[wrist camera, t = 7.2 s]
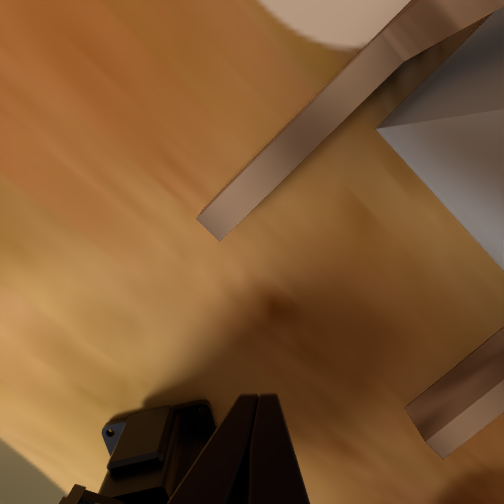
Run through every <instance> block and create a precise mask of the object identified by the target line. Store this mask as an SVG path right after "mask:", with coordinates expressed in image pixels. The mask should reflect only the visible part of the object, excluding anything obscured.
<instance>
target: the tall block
mask: <svg viewBox="0 0 504 504" xmlns="http://www.w3.org/2000/svg"><path fill="white" fill-rule="evenodd" d="M376 130H377V131H378V132H379V133H380V135H381V136H382V137H383V138H384V139H385V140H386V141H387V142H388V143H389V145H390V146H391V147H392V148H393V149H394V150H395V151H396V152H397V153H398V155H399V156H400V157H401V158H402V159H403V160H404V161H405V162H406V163H407V165H408V166H409V167H410V168H411V169H412V170H413V171H414V172H415V173H416V174H417V176H418V177H419V178H420V179H421V180H422V181H423V182H424V183H425V184H426V186H427V187H428V188H429V189H430V190H431V191H432V192H433V193H434V194H435V196H436V197H437V198H438V199H439V200H440V201H441V202H442V203H443V204H444V206H445V207H446V208H447V209H448V210H449V211H450V212H451V213H452V214H453V216H454V217H455V218H456V219H457V220H458V221H459V222H460V223H461V224H462V225H463V227H464V228H465V229H466V230H467V231H468V232H469V233H470V234H471V235H472V237H473V238H474V239H475V240H476V241H477V242H478V243H479V244H480V245H481V247H482V248H483V249H484V250H485V251H486V252H487V253H488V254H489V255H490V257H491V258H492V259H493V260H494V261H495V262H496V263H497V264H498V265H499V267H500V268H501V269H502V270H503V271H504V6H503V7H502V8H500V9H498V10H496V11H495V12H494V13H493V14H492V15H491V16H490V17H489V18H488V19H487V20H486V21H485V22H484V23H483V24H482V25H481V26H480V27H478V28H477V29H476V30H475V31H474V32H473V33H472V34H471V35H470V36H469V37H468V38H467V39H466V40H465V41H464V42H463V43H462V44H461V45H460V46H459V47H458V48H457V49H456V50H455V51H454V52H453V53H452V54H451V55H450V56H449V57H448V58H447V59H446V60H445V61H444V62H443V63H442V64H441V65H440V66H439V67H438V68H437V69H436V70H435V71H434V72H433V73H432V74H431V75H430V76H429V77H428V78H427V79H426V80H425V81H424V82H423V83H422V84H421V85H420V86H419V87H418V88H417V89H416V90H415V91H413V92H412V93H411V94H410V95H409V96H408V97H407V98H406V99H405V100H404V101H403V102H402V103H401V104H400V105H399V106H398V107H397V108H396V109H395V110H394V111H393V112H392V113H391V114H390V115H389V116H388V117H387V118H386V119H385V120H384V121H383V122H382V123H381V124H380V125H379V126H378V127H377V128H376Z"/></svg>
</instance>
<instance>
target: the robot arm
mask: <svg viewBox="0 0 504 504" xmlns="http://www.w3.org/2000/svg"><path fill="white" fill-rule="evenodd" d="M201 407H203V408H205V409H206V410H205V411H201V410H199V408H201ZM109 429H112V430H113V431H114V433H112V432H109ZM102 436H103V439H104V441H105V444H106V446H107V449H108V452H109V454H110V459H109V462H108V464H107V470H108V471H107V474H106V476H105V478H104V481H103V483H102V485H101V488H100V490H99V492H98V494H97V493H94V492H91V491H88V490H86V487H84V486H81V485H77V484H75V485H74V486H73V488H72V490H71V491H70V493H69V495H68V496H67V497H65V496H64V497H63V498H62V500H61V501H60V503H59V504H310V502H309V498H308V495H307V492H306V488H305V485H304V482H303V478H302V475H301V471H300V468H299V465H298V461H297V458H296V455H295V451H294V448H293V445H292V441H291V438H290V435H289V431H288V428H287V425H286V421H285V418H284V415H283V411H282V408H281V405H280V401H279V398H278V395H277V394H276V393H262V394H260V395H258V394H256V393H243V394H241V395H239V397H238V398H237V399H236V401H235V402H234V404H233V405H232V407H231V408H230V410H229V411H228V413H227V414H226V416H225V417H224V419H223V420H222V422H221V423H220V425H219V426H218V425H217V422H216V419H215V416H214V413H213V409H212V406H211V404H210V402H208V401H207V400H198V401H193V402H189V403H185V404H181V405H177V406H170V405H168V406H164V407H160V408H156V409H152V410H147V411H143V412H139V413H135V414H131V415H130V416H129V417H126V418H122V419H118V420H114V421H110V422H107V423H106V424H105V425H104V427H103V429H102Z"/></svg>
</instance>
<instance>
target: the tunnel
mask: <svg viewBox="0 0 504 504" xmlns="http://www.w3.org/2000/svg"><path fill="white" fill-rule="evenodd" d="M503 6H504V0H411V1H410V2H409V3H408V4H407V5H406V6H405V7H404V8H403V9H402V10H401V11H400V12H399V13H398V14H397V15H396V16H395V17H394V18H393V19H392V20H391V21H390V22H389V23H388V24H387V25H386V26H385V27H384V28H383V29H382V30H381V31H380V32H379V33H378V34H377V35H376V36H375V37H374V38H373V39H372V40H371V41H370V42H369V43H368V44H367V45H366V46H365V47H364V48H363V49H362V50H361V51H360V52H359V53H358V54H357V55H356V56H355V57H354V58H353V59H352V60H351V61H350V62H349V63H348V64H347V65H346V66H345V67H344V68H343V69H342V70H341V71H340V72H339V73H338V74H337V75H336V76H335V77H334V78H333V79H332V80H331V81H330V82H329V83H328V84H327V85H326V86H325V87H324V88H323V89H322V90H321V91H320V92H319V93H318V94H317V95H316V96H315V97H314V98H313V99H312V100H311V101H310V102H309V103H308V104H307V105H306V106H305V107H304V108H303V109H302V110H301V111H300V112H299V113H298V114H297V115H296V116H295V117H294V118H293V119H292V120H291V121H290V122H289V123H288V124H287V125H286V126H285V127H284V128H283V129H282V130H281V131H280V132H279V133H278V134H277V136H276V137H275V138H274V139H273V140H272V141H271V142H270V143H269V144H268V145H267V146H266V147H265V148H264V149H263V150H262V151H261V152H260V153H259V154H258V155H257V156H256V157H255V158H254V159H253V160H252V161H251V162H250V163H249V164H248V165H247V166H246V167H245V168H244V169H243V170H242V171H241V172H240V173H239V174H238V175H237V176H236V177H235V178H234V179H233V180H232V181H231V182H230V183H229V184H228V185H227V186H226V187H225V188H224V189H223V190H222V191H221V192H220V193H219V194H218V195H217V196H216V197H215V198H214V199H213V200H212V201H211V202H210V203H209V204H208V205H207V206H206V207H205V208H204V209H203V210H202V211H201V213H200V214H199V215H198V217H197V218H196V219H197V220H198V221H199V222H200V223H201V224H202V225H203V226H204V227H205V228H206V229H207V230H208V231H209V232H210V233H211V234H212V235H213V236H214V237H215V238H216V239H218V240H219V241H221V240H222V239H223V238H224V237H225V236H226V235H227V234H228V233H229V232H230V231H231V230H232V229H233V228H234V227H235V226H236V225H237V224H238V223H239V222H240V221H241V220H242V219H243V218H245V217H246V216H247V215H248V214H249V213H250V212H251V211H252V210H253V209H254V208H255V207H256V206H257V205H258V204H259V203H260V202H261V201H262V200H263V199H264V198H265V197H266V196H267V195H268V194H269V193H270V192H271V191H272V190H273V189H274V188H275V187H276V186H277V185H278V184H279V183H280V182H281V181H282V180H283V179H284V178H285V177H286V176H287V175H288V174H289V173H290V172H291V171H292V170H294V169H295V168H296V167H297V166H298V165H299V164H300V163H301V162H302V161H303V160H304V159H305V158H306V157H307V156H308V155H309V154H310V153H311V152H312V151H313V150H314V149H315V148H316V147H317V146H318V145H319V144H320V143H321V142H322V141H323V140H324V139H325V138H326V137H327V136H328V135H329V134H330V133H331V132H332V131H333V130H334V129H335V128H336V127H337V126H338V125H339V124H340V123H342V122H343V121H344V120H345V119H346V118H347V117H348V116H349V115H350V114H351V113H352V112H353V111H354V110H355V109H356V108H357V107H358V106H359V105H360V104H361V103H362V102H363V101H364V100H365V99H366V98H367V97H368V96H369V95H370V94H371V93H372V92H373V91H374V90H375V89H376V88H377V87H378V86H379V85H380V84H381V83H382V82H383V81H384V80H385V79H386V78H387V77H388V76H390V75H391V74H392V73H393V72H394V71H395V70H396V69H397V68H398V67H399V66H400V65H401V64H402V63H403V62H404V61H406V60H408V59H410V58H411V57H413V56H415V55H417V54H419V53H420V52H422V51H424V50H426V49H428V48H429V47H431V46H433V45H435V44H437V43H438V42H440V41H442V40H444V39H446V38H447V37H449V36H451V35H453V34H455V33H456V32H458V31H460V30H462V29H464V28H466V27H467V26H469V25H471V24H473V23H475V22H476V21H478V20H480V19H482V18H484V17H485V16H487V15H489V14H491V13H493V12H494V11H496V10H498V9H500V8H502V7H503ZM405 410H406V411H407V413H408V415H409V416H410V418H411V419H412V421H413V423H414V424H415V426H416V428H417V429H418V431H419V433H420V434H421V436H422V437H423V439H424V441H425V442H426V443H427V444H428V445H429V446H430V447H431V448H432V449H433V450H434V451H435V452H436V453H437V454H438V455H439V456H440V457H441V458H442V459H444V458H446V457H447V456H448V455H449V454H451V453H452V452H453V451H455V450H456V449H457V448H458V447H460V446H461V445H462V444H464V443H465V442H466V441H467V440H469V439H470V438H471V437H473V436H474V435H475V434H476V433H478V432H479V431H480V430H482V429H483V428H484V427H485V426H487V425H488V424H489V423H491V422H492V421H493V420H494V419H496V418H497V417H498V416H500V415H501V414H502V413H503V412H504V327H503V328H502V329H501V330H500V331H499V332H497V333H496V334H495V335H494V336H492V337H491V338H490V339H489V340H487V341H486V342H485V343H484V344H483V345H481V346H480V347H479V348H478V349H476V350H475V351H474V352H473V353H472V354H470V355H469V356H468V357H467V358H465V359H464V360H463V361H462V362H461V363H459V364H458V365H457V366H456V367H454V368H453V369H452V370H451V371H450V372H448V373H447V374H446V375H445V376H443V377H442V378H441V379H440V380H438V381H437V382H436V383H435V384H434V385H432V386H431V387H430V388H429V389H427V390H426V391H425V392H424V393H423V394H421V395H420V396H419V397H418V398H416V399H415V400H414V401H413V402H412V403H410V404H409V405H408V406H407V407H405Z"/></svg>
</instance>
